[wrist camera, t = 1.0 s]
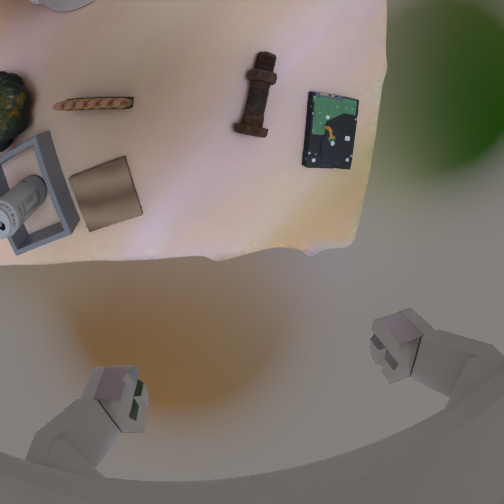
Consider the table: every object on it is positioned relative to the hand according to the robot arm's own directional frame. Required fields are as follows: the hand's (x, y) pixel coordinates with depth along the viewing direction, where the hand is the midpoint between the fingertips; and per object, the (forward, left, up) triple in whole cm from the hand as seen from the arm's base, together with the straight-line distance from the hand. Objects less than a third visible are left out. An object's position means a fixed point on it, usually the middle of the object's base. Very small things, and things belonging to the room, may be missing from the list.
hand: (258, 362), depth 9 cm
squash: (-18, -31, -45) cm, 57 cm away
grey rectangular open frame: (-1, -30, -44) cm, 54 cm away
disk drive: (+3, +27, -45) cm, 53 cm away
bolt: (-6, +14, -45) cm, 47 cm away
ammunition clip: (-11, -12, -45) cm, 48 cm away
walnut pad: (+5, -16, -44) cm, 47 cm away
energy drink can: (-1, -30, -45) cm, 54 cm away
